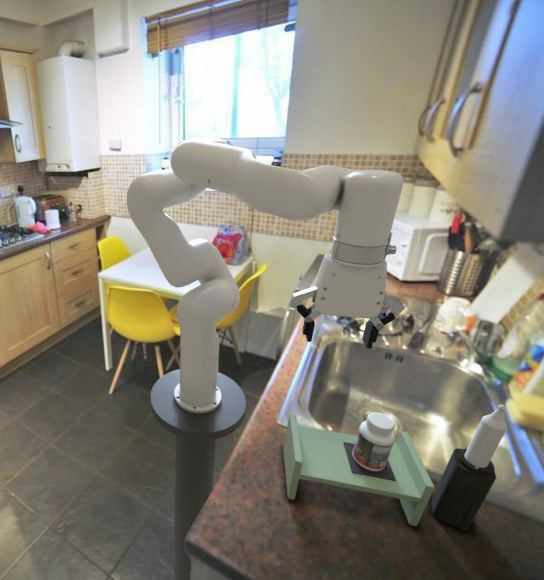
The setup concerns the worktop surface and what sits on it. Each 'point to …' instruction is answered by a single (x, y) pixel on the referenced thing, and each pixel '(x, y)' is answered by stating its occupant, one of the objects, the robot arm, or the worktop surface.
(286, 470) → the shelf
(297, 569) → the worktop surface
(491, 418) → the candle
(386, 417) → the pill bottle
